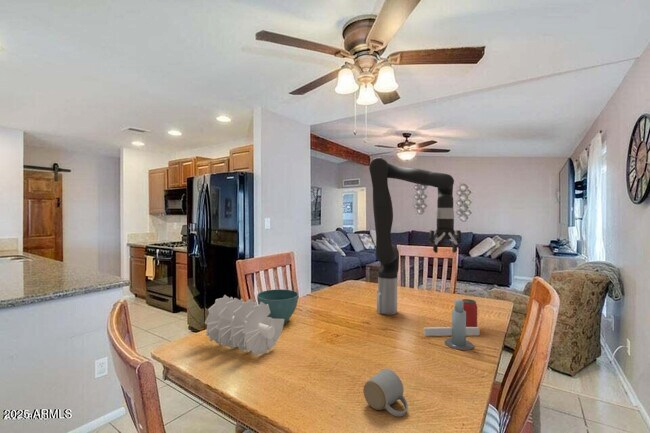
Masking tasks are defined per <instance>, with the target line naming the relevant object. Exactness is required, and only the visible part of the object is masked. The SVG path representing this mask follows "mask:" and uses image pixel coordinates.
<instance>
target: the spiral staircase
mask: <svg viewBox="0 0 650 433" xmlns="http://www.w3.org/2000/svg"><path fill="white" fill-rule="evenodd" d="M207 311H208V315H207V317H206V319H205V321H204V324H205V325H207V326H206V333H205V334H206V337H209V342H212V341H214V342H215V343H216V344H217V345H219V346H222V347H225V346H227V347H229V348H230V349H231V350H234V349H233V348H236V347H237V348H238V349H239V350H240V352H241V353H244V351H246V353H250V352H251V353H252V354H253V355H254V356H255V357H256V358H258V356H259V355H263V354H268V351H270V350H271V349H272V348H273V347H274V346H275V345H277V342H278V340H279V339H280V336H281V335H282V333H283V328H284V325H285V323H284V319H272V318H271V317H267V316H268V315H269V314H270V313H271V312H270V309H269V305H268V304H266V305H265V304H264V303H263V302H260V304H259V305H258V301H257V302H256V301H255V302H254V300H252V299H251V298H249V299H248V301H244V299H243V298H240V299H239V298H237V297H234V298H233V296H230V297H229V296H227V295H226V294H224V295H223V297H220V298H216V299H215V301H214V304H212V305H211V306H210V307H209V308H208V309H207Z"/></svg>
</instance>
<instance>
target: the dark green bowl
mask: <svg viewBox="0 0 650 433" xmlns="http://www.w3.org/2000/svg"><path fill="white" fill-rule="evenodd" d="M256 298H257V305H259V304H260V302H263V303H264V304H265V305H266V304H268V305H269V309H270V312H271V313H270V314H269V315H268V316H267V317H271V318H272V319H284V324H285V323H287V322H288V321H289V320H290V319H291V317H292V315H293V314H294V313H295V310H296V308H297V305H298V301H299V292H298V291H295V290H291V289H279V288H278V289H269V290H263V291H260V292H259V293H257V295H256Z"/></svg>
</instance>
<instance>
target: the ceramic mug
mask: <svg viewBox="0 0 650 433" xmlns="http://www.w3.org/2000/svg"><path fill="white" fill-rule="evenodd" d="M362 390H363V396H364V398H365V401H366V403H367V404H368V405H369V407H371V408H372V409H374V410H376V411H381V410H386V411H387V412H388V413H390V414H391V415H392V416H395V417H397V418H398V417H404V415H406V413H407V412H408V409H409V406H408V405H409V404H408V402H407V399H406V398H405V397H404V385H403V382H402V380H401V378H400V376H399V375H398V374H397V373H396V372H395V371H394V370H392V369H390V368H384V369H382V370H380V371H379V372H377V373H376V374H375V375H373V376H372V377H370V378H369V379H368V380H367V381H366V382H365V383H364V385H363V388H362ZM398 400H400V401H401V403H402V405H403V407H404V410H403V411H398V410H396V409H394V408H392V407H391V405H393V404H394V403H396V402H397V401H398Z"/></svg>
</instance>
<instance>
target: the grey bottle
mask: <svg viewBox="0 0 650 433" xmlns="http://www.w3.org/2000/svg"><path fill="white" fill-rule="evenodd" d="M451 327H452V336H451V338H452V344H454V345H456V346H465V345H466V340H467V335H466V311H464V310H463V299H457V298H456V299H454V309H452V310H451Z"/></svg>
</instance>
